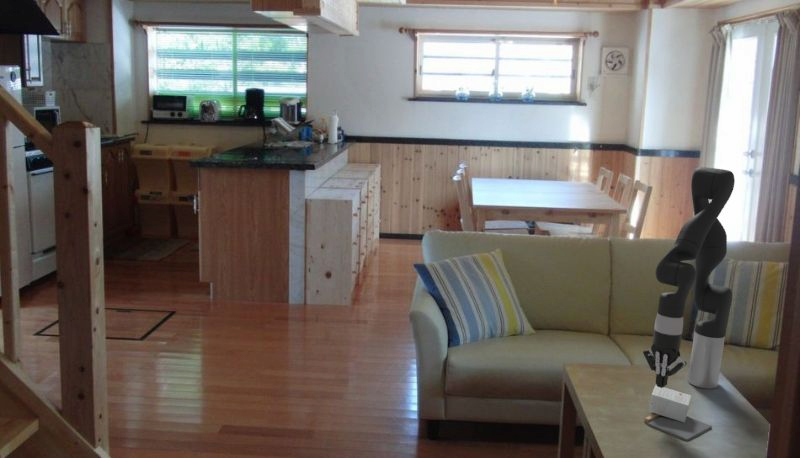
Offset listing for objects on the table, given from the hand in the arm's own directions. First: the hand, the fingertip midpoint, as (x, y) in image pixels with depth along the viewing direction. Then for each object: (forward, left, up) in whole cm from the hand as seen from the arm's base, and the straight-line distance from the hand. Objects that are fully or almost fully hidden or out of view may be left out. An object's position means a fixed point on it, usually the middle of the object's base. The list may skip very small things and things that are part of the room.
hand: (660, 386), depth 221 cm
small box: (-2, -4, -5) cm, 6 cm away
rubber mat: (0, +7, -10) cm, 12 cm away
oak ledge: (0, 0, -10) cm, 10 cm away
